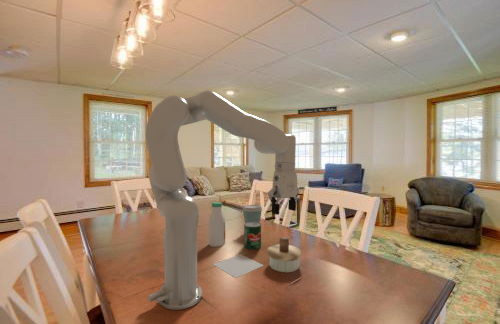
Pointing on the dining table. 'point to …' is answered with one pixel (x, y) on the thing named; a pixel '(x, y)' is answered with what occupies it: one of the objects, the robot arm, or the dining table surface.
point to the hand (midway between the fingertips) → (284, 211)
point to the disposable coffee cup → (252, 213)
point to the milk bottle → (216, 226)
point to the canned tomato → (252, 235)
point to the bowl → (284, 265)
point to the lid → (284, 251)
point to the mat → (238, 265)
